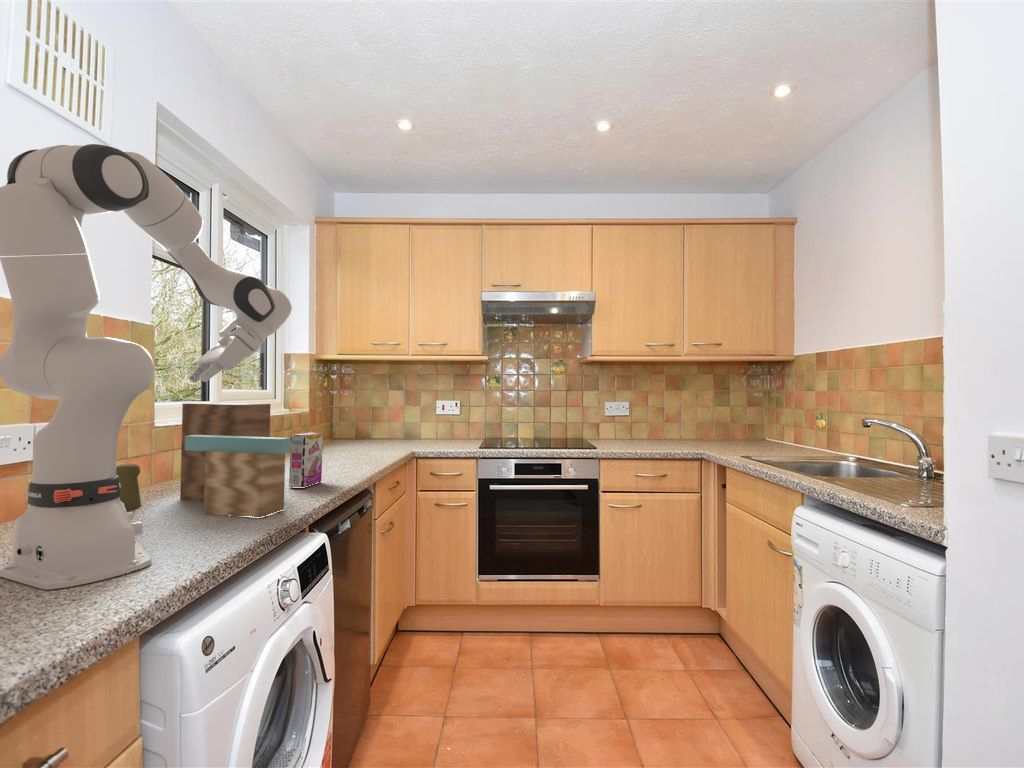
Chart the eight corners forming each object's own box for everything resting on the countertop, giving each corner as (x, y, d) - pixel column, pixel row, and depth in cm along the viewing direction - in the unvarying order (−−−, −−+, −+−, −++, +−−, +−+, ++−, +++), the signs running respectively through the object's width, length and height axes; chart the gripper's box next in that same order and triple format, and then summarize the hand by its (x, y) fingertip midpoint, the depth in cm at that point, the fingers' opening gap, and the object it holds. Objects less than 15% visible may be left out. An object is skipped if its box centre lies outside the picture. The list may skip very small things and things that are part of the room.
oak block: (283, 511, 123) (285, 450, 123) (260, 519, 115) (261, 454, 115) (230, 506, 126) (231, 448, 127) (203, 514, 119) (205, 451, 119)
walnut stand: (268, 494, 141) (270, 403, 142) (235, 503, 130) (238, 404, 130) (216, 490, 145) (218, 402, 146) (180, 499, 134) (182, 403, 134)
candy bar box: (303, 489, 149) (304, 435, 149) (288, 488, 150) (289, 434, 150) (322, 482, 160) (323, 432, 160) (308, 482, 161) (309, 431, 161)
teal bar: (290, 452, 120) (291, 437, 120) (282, 453, 117) (282, 439, 117) (195, 448, 124) (196, 434, 124) (184, 450, 121) (185, 436, 121)
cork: (115, 512, 119) (116, 466, 119) (107, 508, 123) (108, 464, 123) (144, 507, 124) (146, 464, 124) (136, 504, 128) (137, 461, 128)
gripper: (216, 334, 130) (174, 372, 123) (242, 327, 116) (196, 369, 109) (236, 351, 133) (196, 389, 127) (263, 346, 119) (220, 388, 112)
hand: (196, 380), depth 118 cm, fingers open, 8 cm apart
